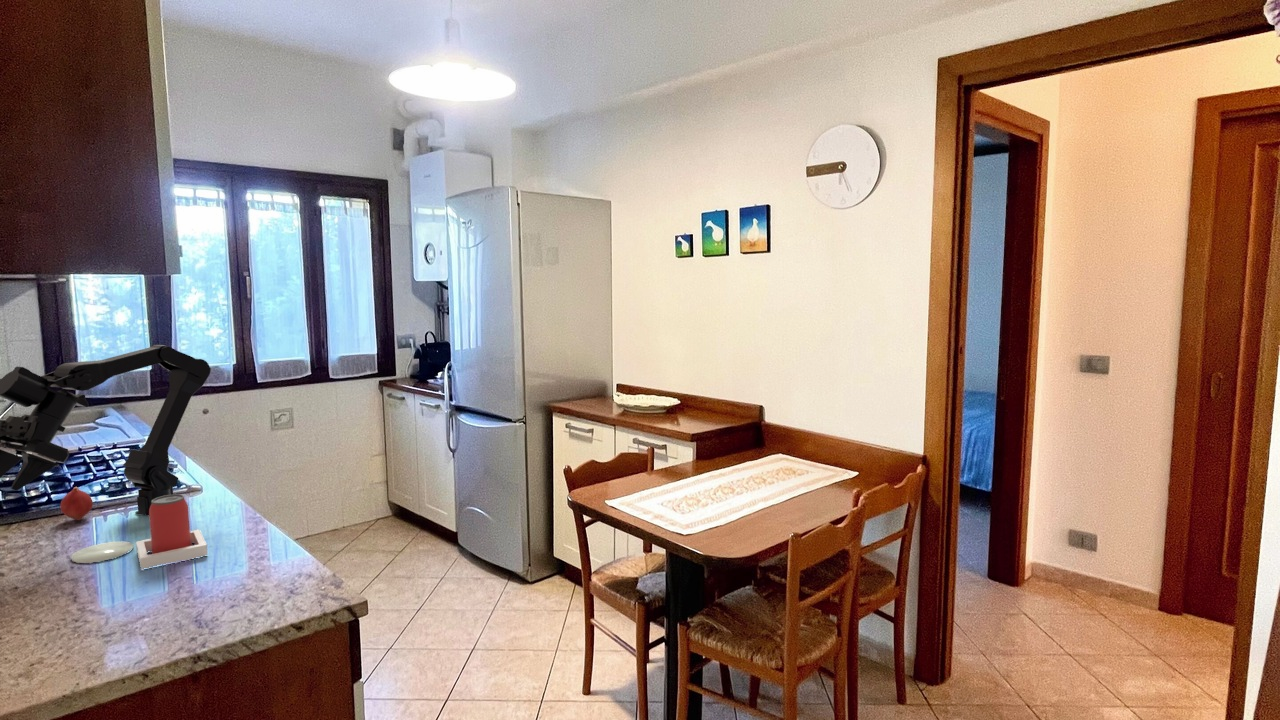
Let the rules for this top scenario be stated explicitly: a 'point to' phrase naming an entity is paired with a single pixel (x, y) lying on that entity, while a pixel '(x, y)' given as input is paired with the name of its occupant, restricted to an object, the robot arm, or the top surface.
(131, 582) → the top surface
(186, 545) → the beer can
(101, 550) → the coaster
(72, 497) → the onion
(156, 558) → the collar
